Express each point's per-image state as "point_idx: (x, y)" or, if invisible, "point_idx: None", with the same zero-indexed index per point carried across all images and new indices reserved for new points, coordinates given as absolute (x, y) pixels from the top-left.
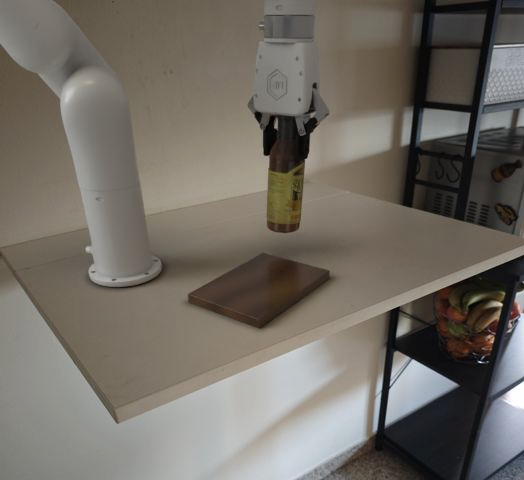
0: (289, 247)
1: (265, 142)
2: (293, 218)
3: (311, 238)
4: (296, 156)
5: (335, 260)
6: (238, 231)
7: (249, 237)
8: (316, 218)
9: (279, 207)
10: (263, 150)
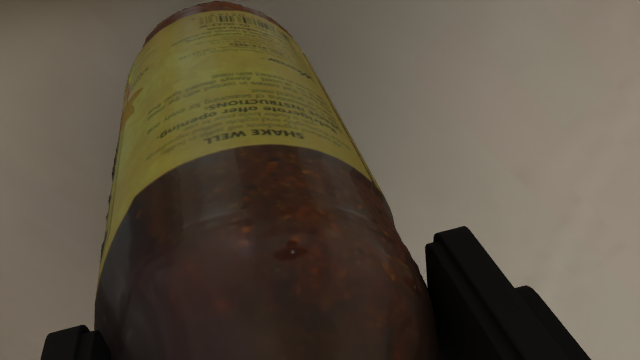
0: None
1: (499, 313)
2: (124, 100)
3: None
4: (53, 356)
5: (15, 159)
6: (522, 76)
7: (446, 67)
8: None
9: (172, 55)
10: (483, 249)
